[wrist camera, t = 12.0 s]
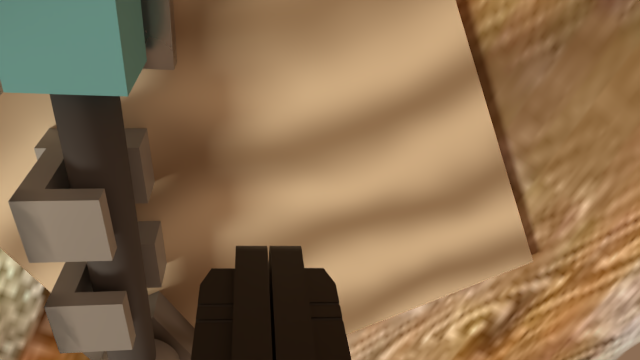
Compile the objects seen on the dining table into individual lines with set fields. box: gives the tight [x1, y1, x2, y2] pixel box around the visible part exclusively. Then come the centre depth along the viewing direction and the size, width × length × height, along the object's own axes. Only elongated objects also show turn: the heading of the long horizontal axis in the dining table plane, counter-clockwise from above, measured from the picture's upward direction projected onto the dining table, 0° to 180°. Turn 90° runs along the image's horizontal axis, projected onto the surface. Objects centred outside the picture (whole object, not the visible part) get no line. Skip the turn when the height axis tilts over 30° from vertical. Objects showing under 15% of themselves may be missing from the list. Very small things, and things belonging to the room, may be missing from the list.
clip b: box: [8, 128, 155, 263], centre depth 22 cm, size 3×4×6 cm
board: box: [0, 0, 533, 360], centre depth 25 cm, size 30×26×2 cm
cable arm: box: [0, 0, 180, 360], centre depth 23 cm, size 25×4×4 cm, turn 175°
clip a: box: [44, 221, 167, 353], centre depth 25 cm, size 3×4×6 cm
